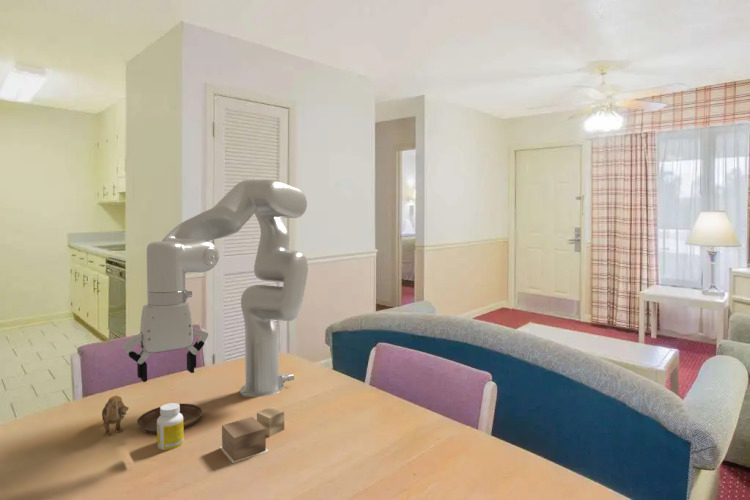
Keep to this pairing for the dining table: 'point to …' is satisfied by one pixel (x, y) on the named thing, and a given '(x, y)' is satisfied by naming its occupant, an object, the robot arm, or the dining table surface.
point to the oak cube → (271, 420)
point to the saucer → (149, 418)
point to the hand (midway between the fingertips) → (167, 375)
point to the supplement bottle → (170, 427)
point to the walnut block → (243, 438)
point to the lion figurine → (113, 413)
